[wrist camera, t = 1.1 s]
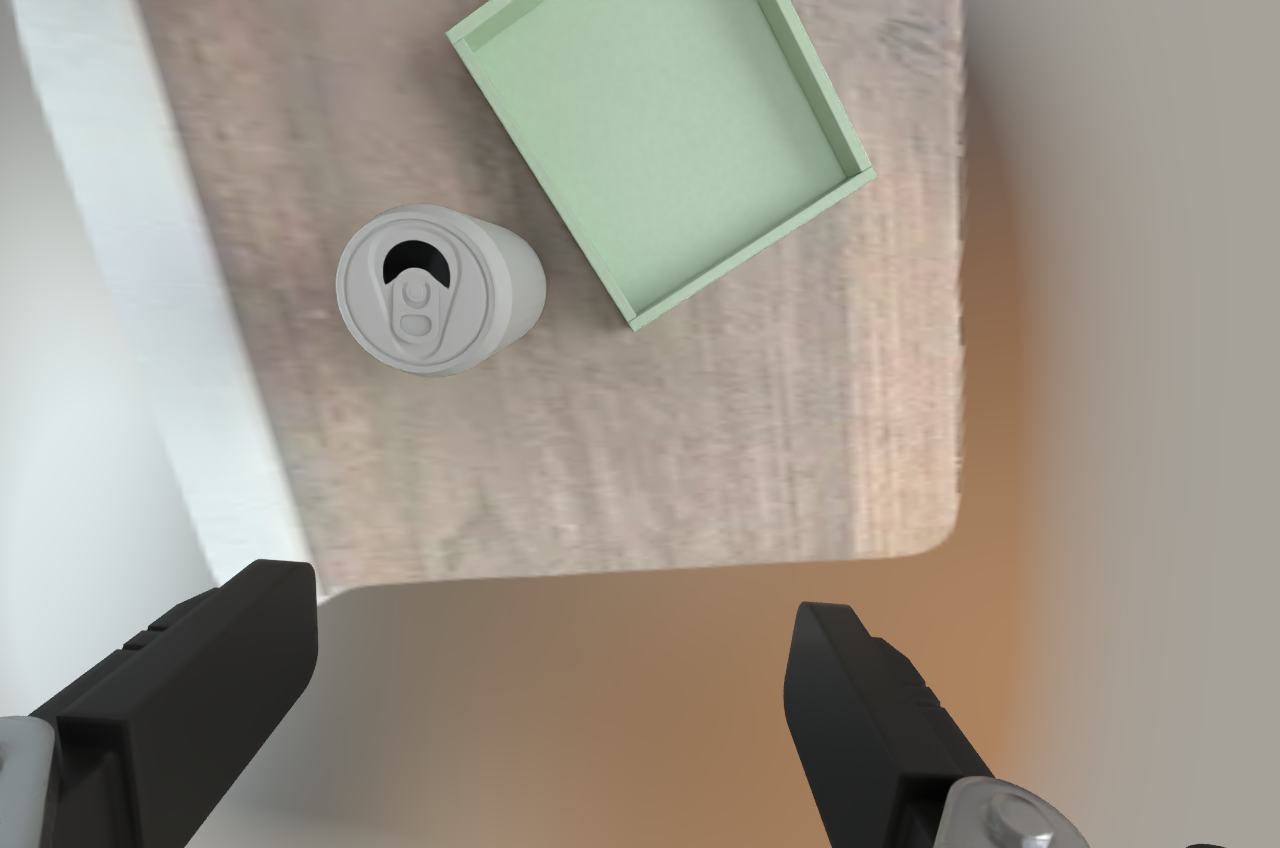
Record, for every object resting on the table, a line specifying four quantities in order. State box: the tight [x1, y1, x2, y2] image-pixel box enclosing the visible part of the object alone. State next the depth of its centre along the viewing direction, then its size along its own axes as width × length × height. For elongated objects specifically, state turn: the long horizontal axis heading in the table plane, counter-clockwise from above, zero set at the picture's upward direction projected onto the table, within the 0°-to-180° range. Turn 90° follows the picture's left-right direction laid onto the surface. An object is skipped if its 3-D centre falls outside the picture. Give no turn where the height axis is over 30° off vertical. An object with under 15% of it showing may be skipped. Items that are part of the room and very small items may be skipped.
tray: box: [445, 0, 877, 332], centre depth 30 cm, size 16×14×3 cm
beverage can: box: [335, 204, 546, 377], centre depth 27 cm, size 6×6×12 cm
